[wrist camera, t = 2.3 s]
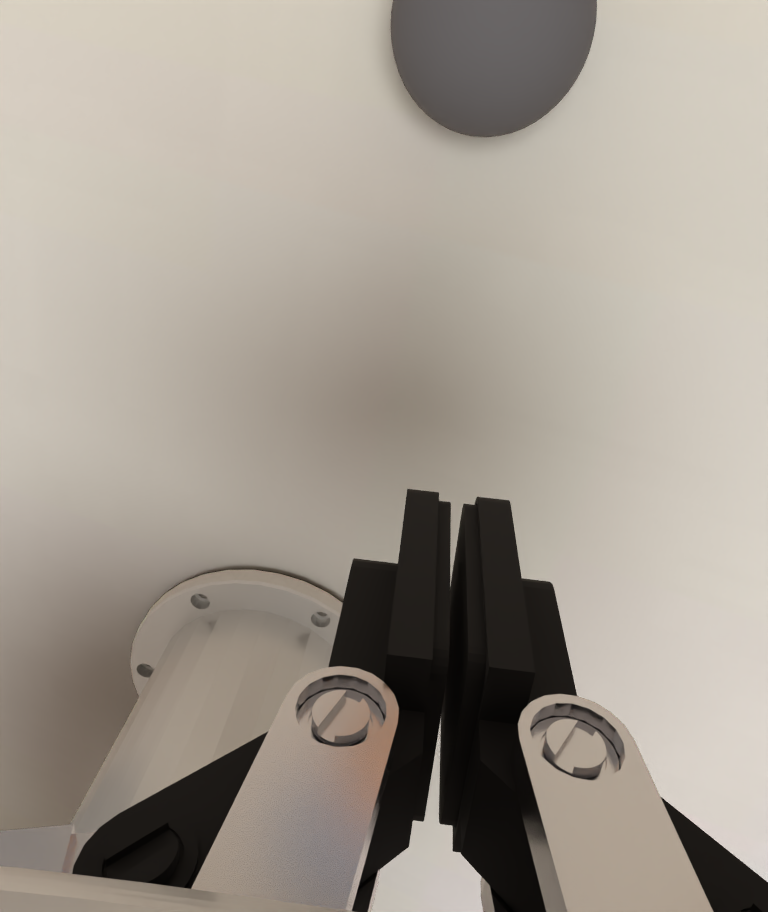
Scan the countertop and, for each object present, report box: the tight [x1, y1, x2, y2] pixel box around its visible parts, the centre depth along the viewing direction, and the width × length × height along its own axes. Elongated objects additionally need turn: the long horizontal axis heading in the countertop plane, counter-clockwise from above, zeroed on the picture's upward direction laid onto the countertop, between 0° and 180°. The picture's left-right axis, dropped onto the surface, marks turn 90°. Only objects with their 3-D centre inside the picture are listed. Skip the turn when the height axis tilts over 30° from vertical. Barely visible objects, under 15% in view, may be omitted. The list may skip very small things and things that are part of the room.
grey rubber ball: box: [391, 0, 597, 137], centre depth 18 cm, size 6×6×6 cm
